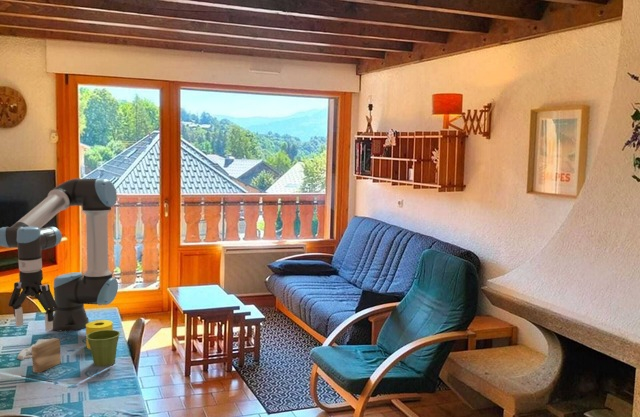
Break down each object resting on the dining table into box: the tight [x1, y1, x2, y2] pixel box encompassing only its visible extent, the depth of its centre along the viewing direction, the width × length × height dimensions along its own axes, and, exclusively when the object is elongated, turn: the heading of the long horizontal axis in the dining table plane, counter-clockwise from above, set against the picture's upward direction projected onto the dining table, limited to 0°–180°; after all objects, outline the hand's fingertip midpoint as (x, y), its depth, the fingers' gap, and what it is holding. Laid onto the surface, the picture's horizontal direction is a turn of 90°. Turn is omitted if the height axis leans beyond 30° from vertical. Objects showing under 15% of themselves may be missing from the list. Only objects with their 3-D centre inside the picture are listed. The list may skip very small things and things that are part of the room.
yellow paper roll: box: [85, 319, 114, 350], centre depth 243 cm, size 10×10×9 cm
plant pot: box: [85, 329, 121, 367], centre depth 225 cm, size 12×12×11 cm
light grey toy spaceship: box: [16, 338, 51, 361], centre depth 237 cm, size 18×4×10 cm
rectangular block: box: [31, 337, 62, 374], centre depth 220 cm, size 3×10×9 cm, turn 159°
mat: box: [20, 375, 54, 383], centre depth 219 cm, size 16×14×1 cm
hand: (34, 327), depth 222 cm, fingers open, 13 cm apart
